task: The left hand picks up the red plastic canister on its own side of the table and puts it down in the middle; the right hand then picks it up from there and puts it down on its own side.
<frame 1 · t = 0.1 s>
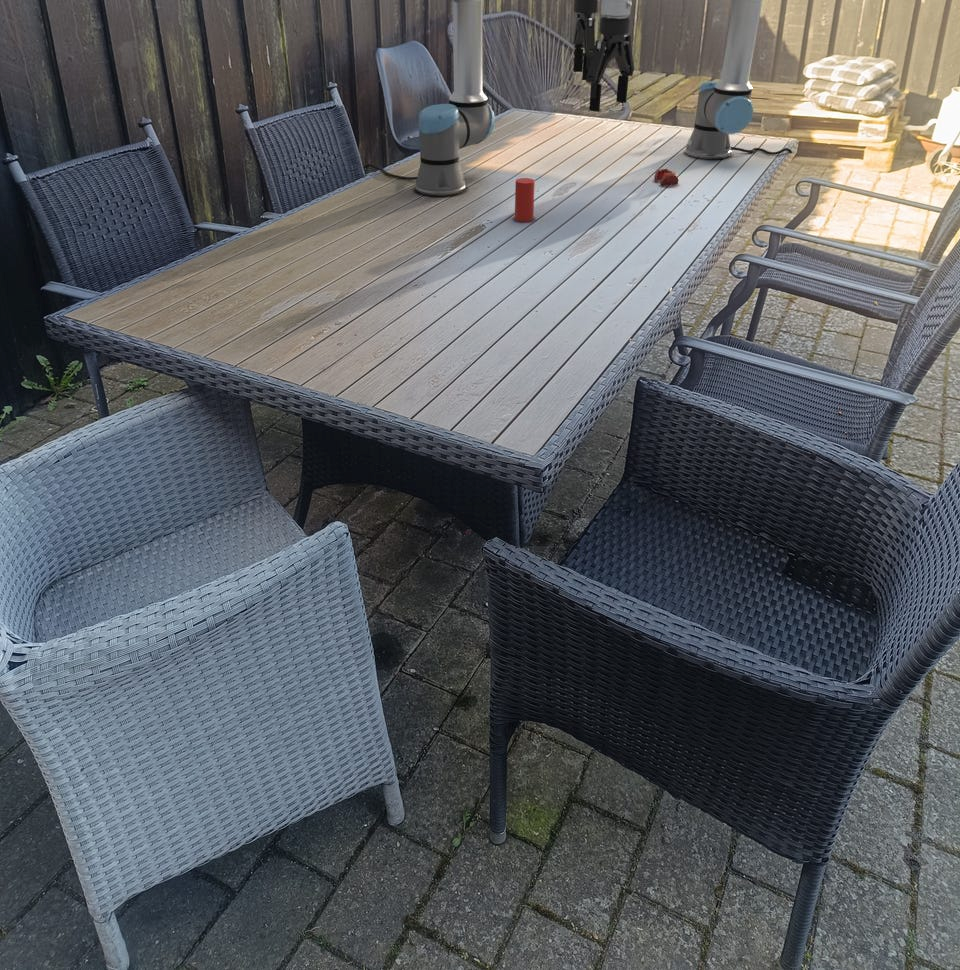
left hand: (608, 106, 226), 28 cm above the table, tool pointing down, fingers open, 13 cm apart
right hand: (582, 75, 261), 28 cm above the table, tool pointing down, fingers open, 13 cm apart
red lumpy piece: (665, 183, 264), on the table
canister: (523, 219, 236), on the table
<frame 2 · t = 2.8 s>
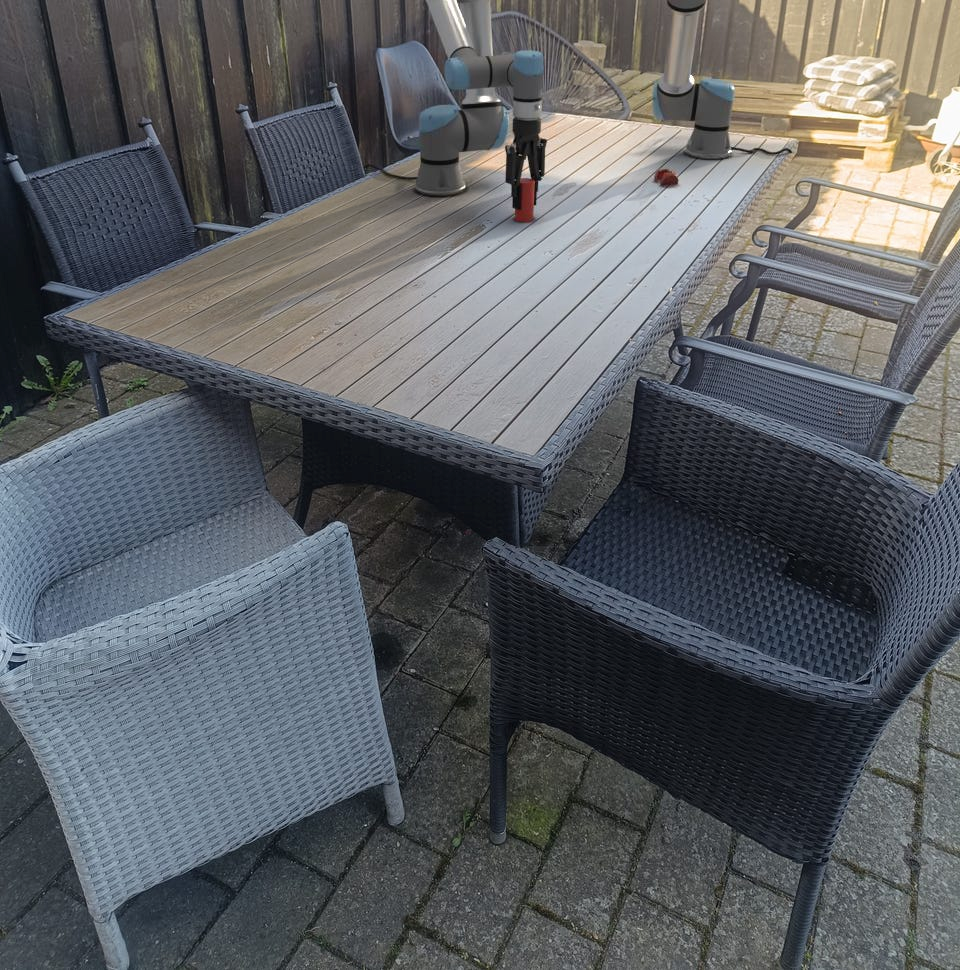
left hand: (524, 206, 234), 4 cm above the table, tool pointing down, fingers closed on canister, 5 cm apart
right hand: (682, 36, 299), 32 cm above the table, tool pointing down, fingers open, 13 cm apart
canister: (523, 219, 236), on the table, touching left hand
everything else where it was.
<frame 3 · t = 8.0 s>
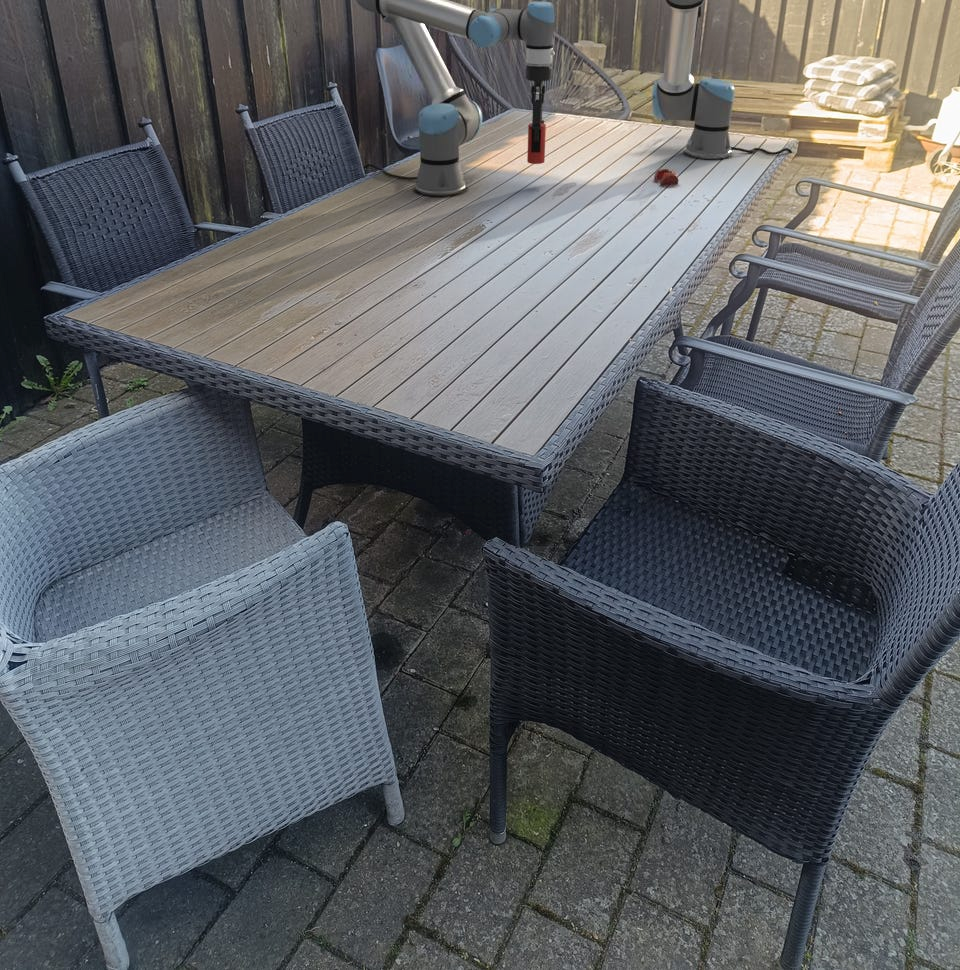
left hand: (536, 149, 253), 11 cm above the table, tool pointing down, fingers closed on canister, 5 cm apart
right hand: (685, 36, 300), 32 cm above the table, tool pointing down, fingers open, 13 cm apart
canister: (535, 161, 255), point 8 cm above the table, touching left hand
everything else where it was.
when the left hand's fingers open (5 cm above the table, at t = 13.2 s): canister drops 1 cm, on the table.
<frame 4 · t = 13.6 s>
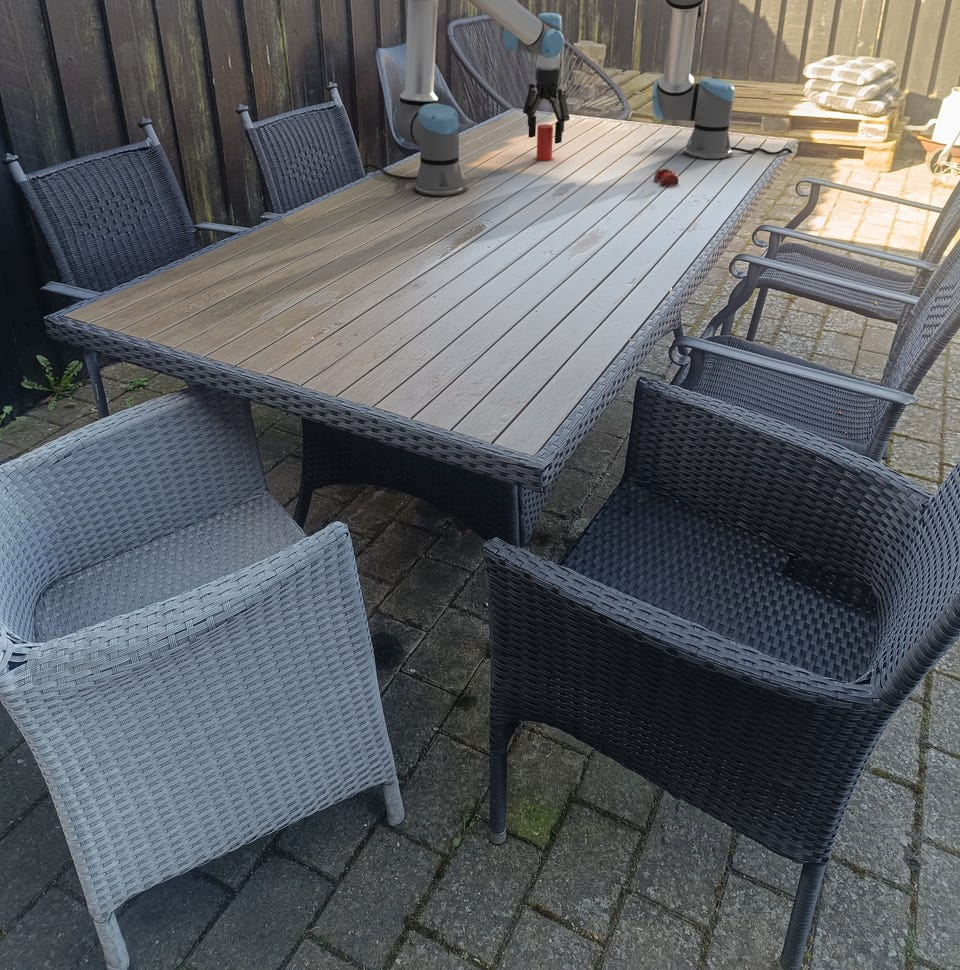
left hand: (544, 139, 284), 6 cm above the table, tool pointing down, fingers open, 11 cm apart
right hand: (685, 36, 300), 32 cm above the table, tool pointing down, fingers open, 13 cm apart
canister: (544, 158, 287), on the table
everything else where it was.
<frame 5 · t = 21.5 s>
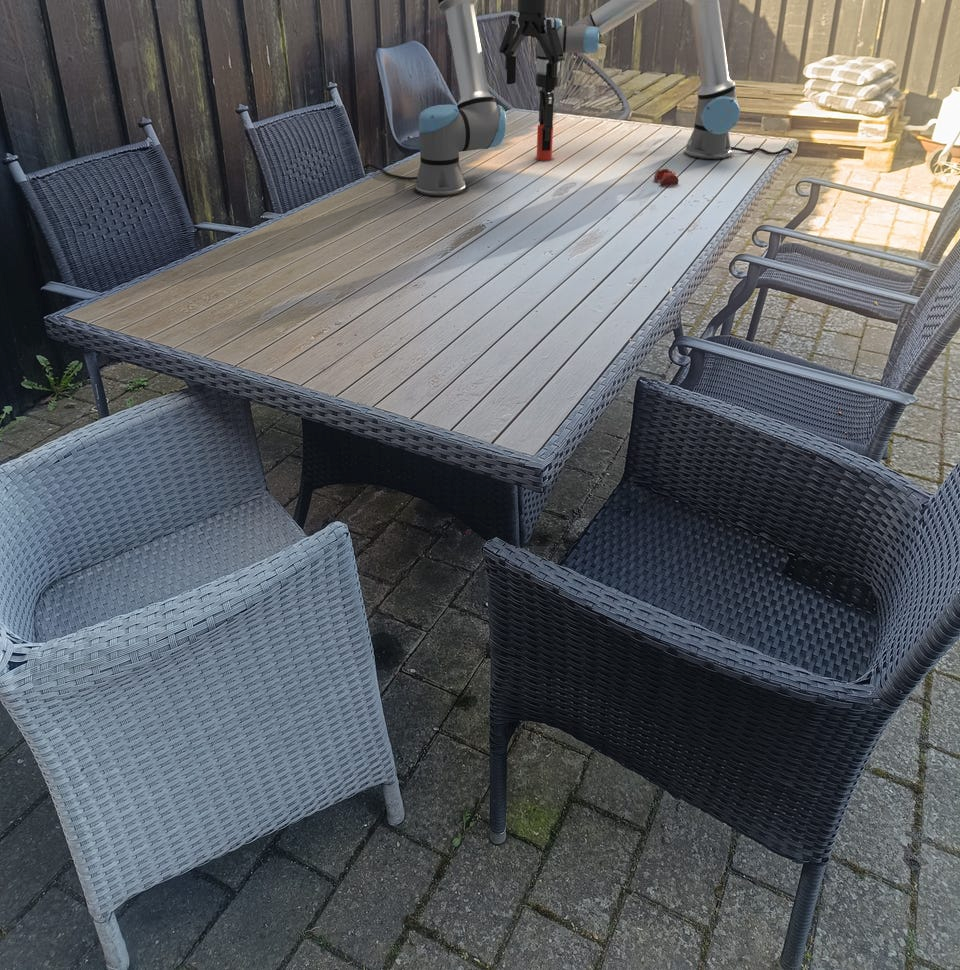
left hand: (530, 87, 222), 33 cm above the table, tool pointing down, fingers open, 13 cm apart
right hand: (544, 147, 285), 4 cm above the table, tool pointing down, fingers closed on canister, 5 cm apart
canister: (544, 158, 287), on the table, touching right hand
everything else where it was.
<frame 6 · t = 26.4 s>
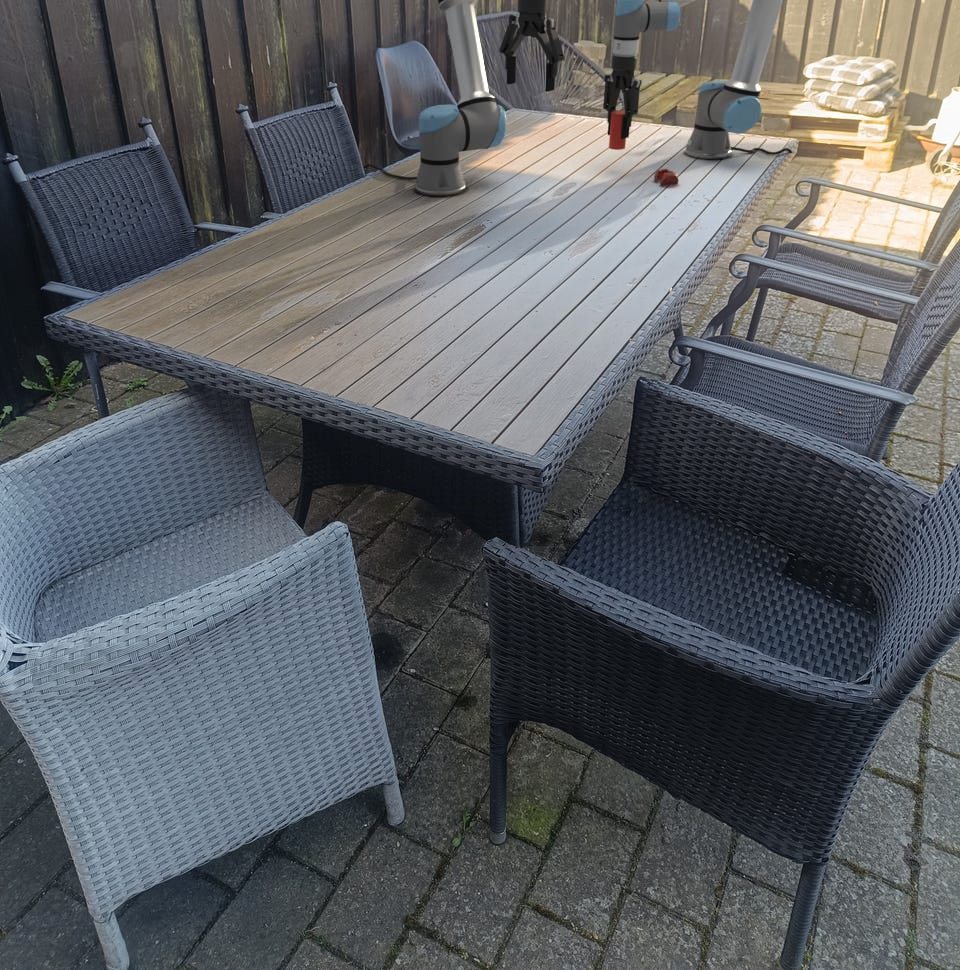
left hand: (530, 87, 222), 33 cm above the table, tool pointing down, fingers open, 13 cm apart
right hand: (618, 135, 267), 11 cm above the table, tool pointing down, fingers closed on canister, 5 cm apart
canister: (616, 147, 269), point 8 cm above the table, touching right hand
everything else where it was.
when the right hand's fingers open (5 cm above the table, at t = 31.5 s): canister drops 1 cm, on the table.
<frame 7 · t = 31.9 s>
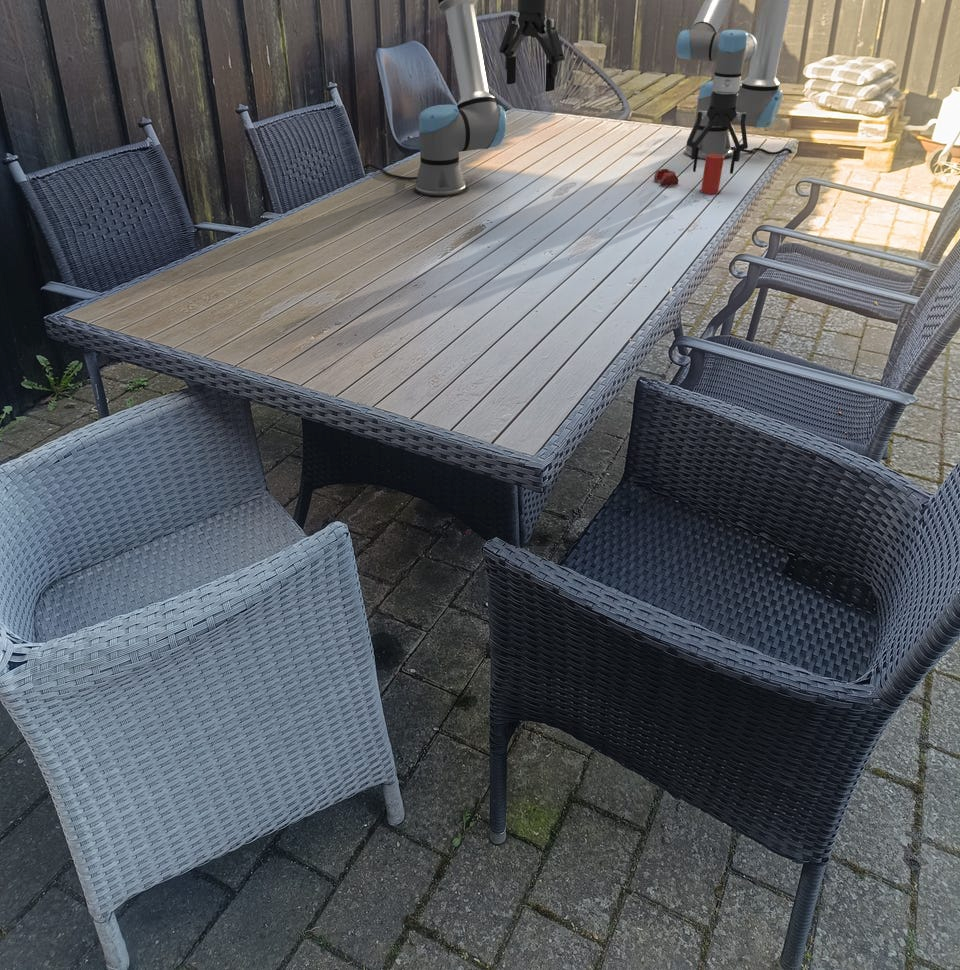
left hand: (530, 87, 222), 33 cm above the table, tool pointing down, fingers open, 13 cm apart
right hand: (712, 171, 253), 6 cm above the table, tool pointing down, fingers open, 10 cm apart
canister: (709, 191, 257), on the table
everything else where it was.
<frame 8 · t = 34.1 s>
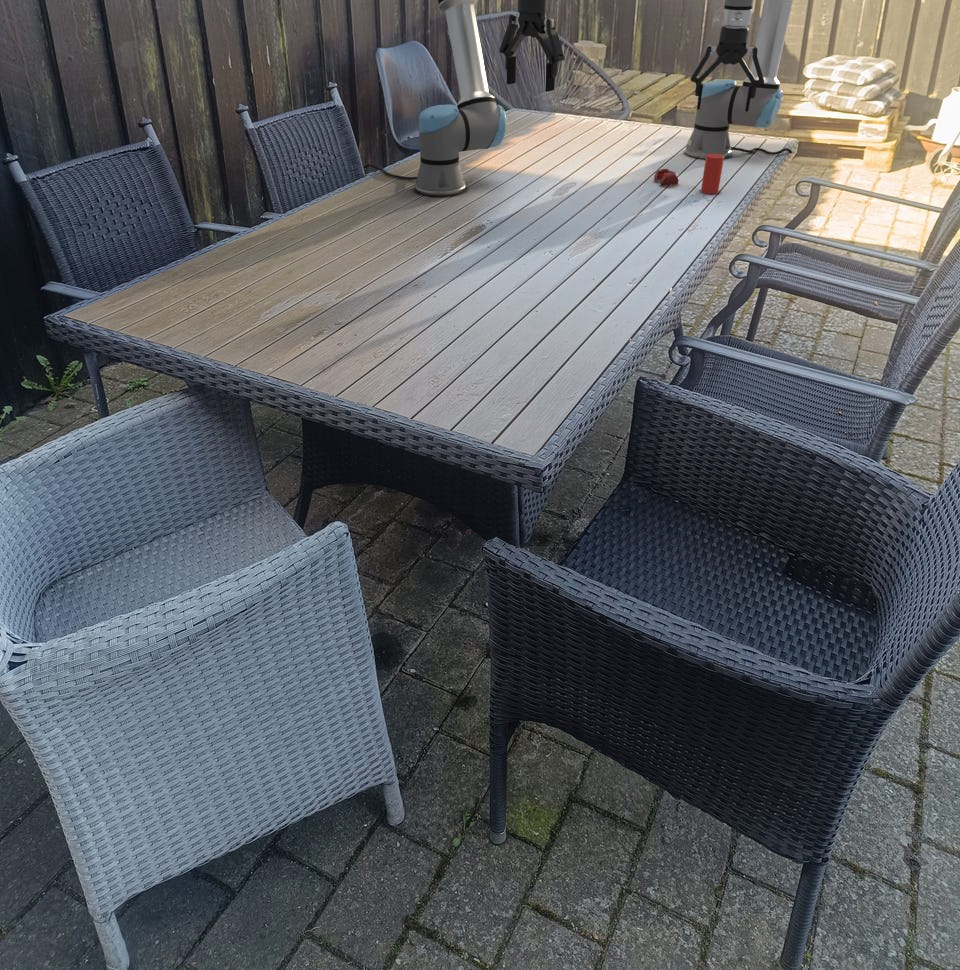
left hand: (530, 87, 222), 33 cm above the table, tool pointing down, fingers open, 13 cm apart
right hand: (722, 109, 243), 23 cm above the table, tool pointing down, fingers open, 13 cm apart
nothing on the table moved.
at the end: canister inside the target area (0.0 cm from its centre), on the table; canister tilted 0°; the two hands never held the canister at the same time; the left hand is holding nothing; the right hand is holding nothing; canister at rest at the end (0.0 cm/s) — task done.
